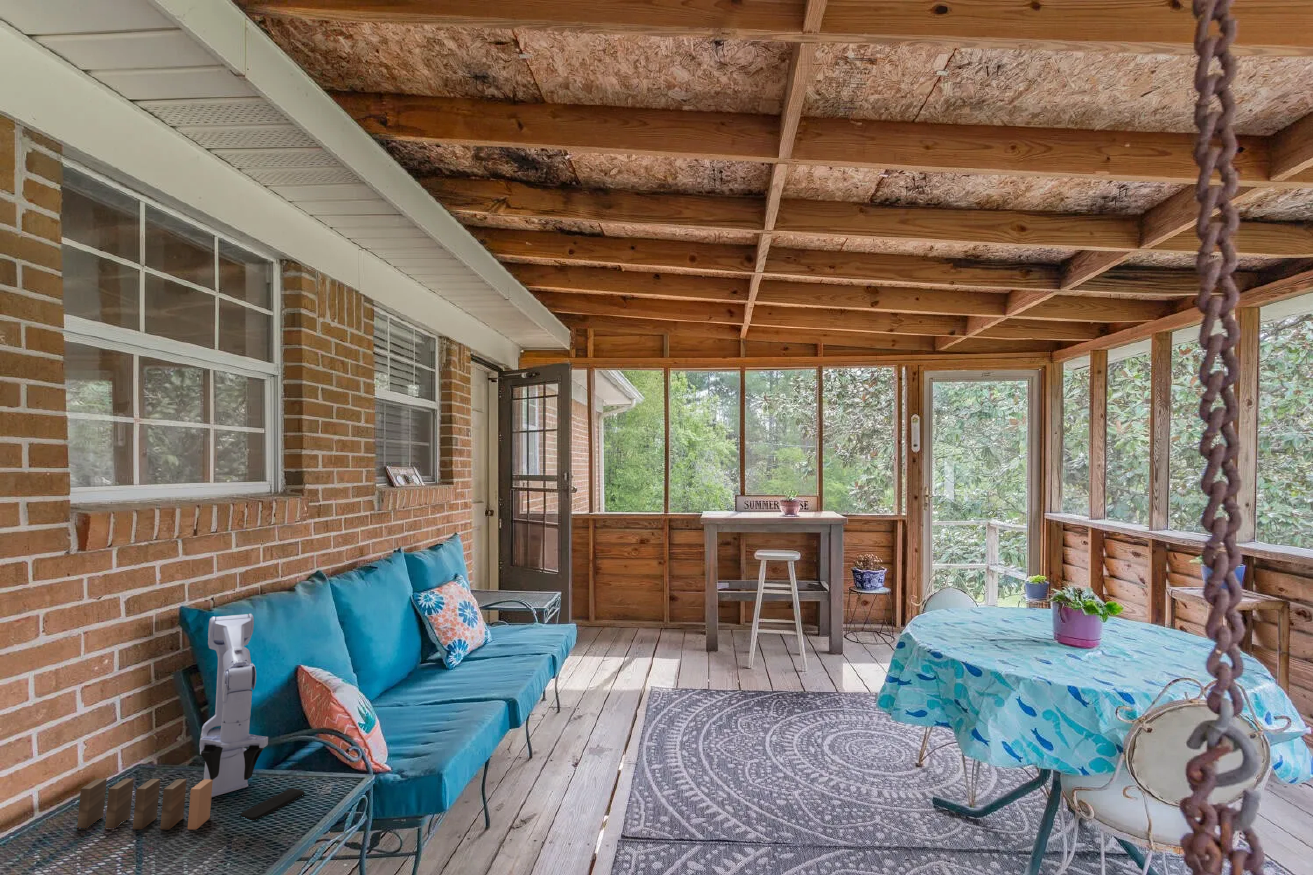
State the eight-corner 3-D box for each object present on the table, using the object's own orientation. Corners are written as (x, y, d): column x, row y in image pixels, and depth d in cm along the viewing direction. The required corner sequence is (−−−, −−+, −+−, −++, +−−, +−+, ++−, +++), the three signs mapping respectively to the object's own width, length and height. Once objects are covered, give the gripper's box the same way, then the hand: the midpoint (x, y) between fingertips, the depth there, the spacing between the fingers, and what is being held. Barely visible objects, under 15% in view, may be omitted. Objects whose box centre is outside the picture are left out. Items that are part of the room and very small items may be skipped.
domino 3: (156, 817, 154) (160, 778, 155) (141, 829, 149) (145, 788, 150) (147, 817, 154) (151, 778, 155) (132, 829, 149) (136, 788, 150)
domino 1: (103, 817, 153) (106, 778, 154) (86, 829, 148) (90, 788, 149) (94, 817, 153) (97, 778, 154) (76, 829, 148) (80, 788, 149)
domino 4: (183, 817, 155) (186, 778, 155) (169, 829, 150) (172, 788, 150) (174, 817, 155) (177, 778, 155) (160, 829, 150) (163, 788, 150)
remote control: (252, 826, 154) (306, 795, 168) (252, 818, 154) (306, 788, 168) (237, 821, 156) (292, 791, 170) (237, 814, 156) (292, 785, 170)
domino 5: (209, 817, 155) (212, 779, 156) (196, 829, 150) (199, 789, 151) (200, 817, 155) (204, 779, 156) (187, 829, 150) (190, 789, 151)
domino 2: (129, 817, 154) (133, 778, 155) (114, 829, 149) (117, 788, 150) (121, 817, 154) (124, 778, 154) (104, 829, 149) (108, 788, 149)
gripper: (193, 724, 150) (188, 785, 149) (258, 725, 151) (254, 785, 150) (211, 713, 157) (206, 771, 156) (274, 714, 158) (269, 772, 157)
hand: (231, 777), depth 154 cm, fingers open, 7 cm apart
